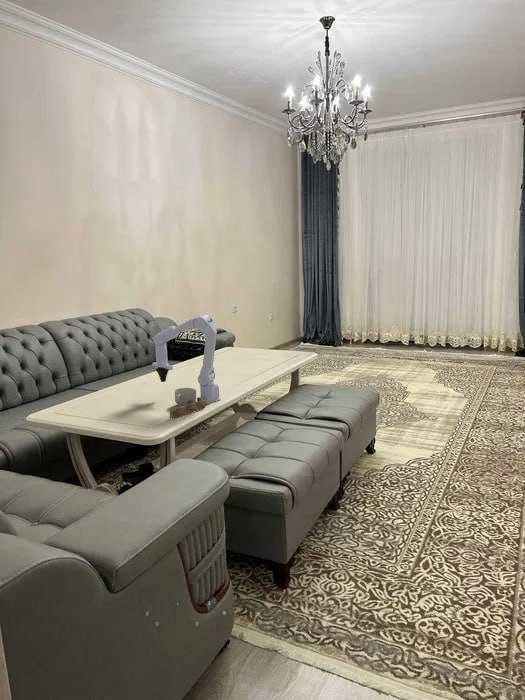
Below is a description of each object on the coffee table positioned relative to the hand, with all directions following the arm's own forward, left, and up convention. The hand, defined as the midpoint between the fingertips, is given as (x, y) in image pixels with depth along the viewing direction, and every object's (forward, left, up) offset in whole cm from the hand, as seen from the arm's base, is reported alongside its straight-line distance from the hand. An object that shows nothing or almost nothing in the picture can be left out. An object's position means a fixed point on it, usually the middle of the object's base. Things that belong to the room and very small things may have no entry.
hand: (163, 381), depth 280 cm
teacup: (+2, +18, -10) cm, 21 cm away
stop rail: (+8, +28, -9) cm, 31 cm away
